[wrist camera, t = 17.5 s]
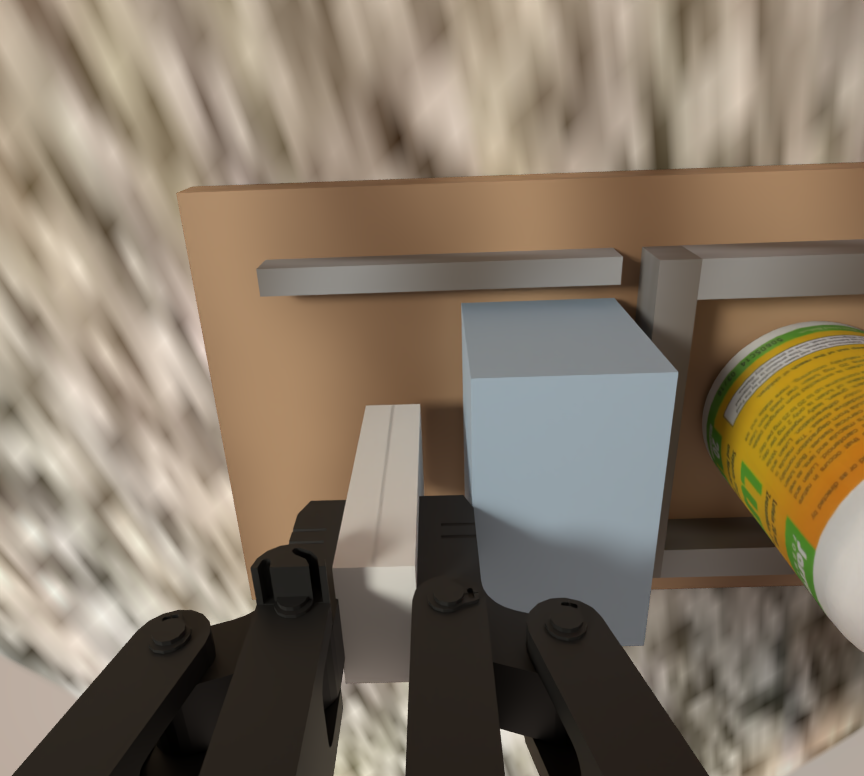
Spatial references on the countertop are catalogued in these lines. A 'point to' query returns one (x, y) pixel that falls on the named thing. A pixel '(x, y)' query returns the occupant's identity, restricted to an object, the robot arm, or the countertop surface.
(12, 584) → the countertop surface
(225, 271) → the brown tray with rails
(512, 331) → the block
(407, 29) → the countertop surface
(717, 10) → the countertop surface
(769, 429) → the supplement bottle
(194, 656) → the robot arm
